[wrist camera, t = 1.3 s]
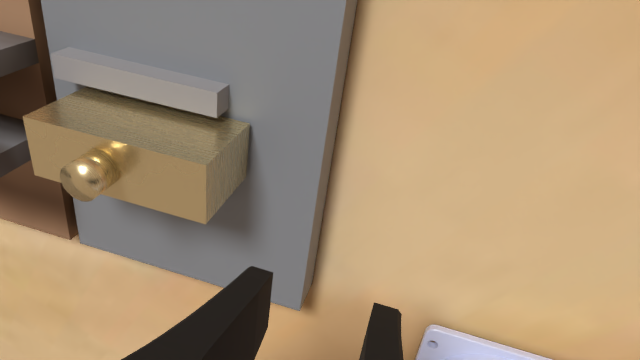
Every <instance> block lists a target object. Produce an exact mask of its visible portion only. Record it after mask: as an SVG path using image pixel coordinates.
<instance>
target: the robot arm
mask: <svg viewBox="0 0 640 360" xmlns="http://www.w3.org/2000/svg"><path fill="white" fill-rule="evenodd" d="M272 281H273V272H270V271H267V270H264V269H260V268H257V267H254V266H250V267H248V268H247V269H246V270H245V271H243V272H242V273H241V274H240V275H239V276H238V277H237V278H236V279H234V280H233V281H232V282H231V283H230V284H229V285H227V286H226V287H225V288H224V289H223V290H221V291H220V292H219V293H218V294H216V295H215V296H214V297H213V298H212V299H210V300H209V301H208V302H206V303H205V304H204V305H202V306H201V307H200V308H199V309H197V310H196V311H195V312H193V313H192V314H191V315H189V316H188V317H187V318H185V319H184V320H182V321H181V322H180V323H178V324H177V325H175V326H174V327H172V328H171V329H169V330H168V331H167V332H165V333H164V334H162V335H161V336H159V337H158V338H156V339H155V340H153V341H151V342H150V343H148V344H147V345H145V346H144V347H142V348H140V349H139V350H137V351H135V352H133V353H132V354H130V355H128V356H127V357H125V358H123V359H121V360H254V359H255V356H256V354H257V352H258V349H259V347H260V345H261V342H262V340H263V337H264V335H265V333H266V330H267V328H268V320H269V310H270V300H271V291H272ZM430 341H435V343H434V342H430ZM359 360H403V351H402V341H401V313H400V312H399V310H398V309H394V308H391V307H388V306H384V305H381V304H378V303H374V305H373V309H372V312H371V316H370V320H369V324H368V327H367V331H366V335H365V339H364V343H363V347H362V351H361V355H360V359H359ZM415 360H552V359H549V358H546V357H542V356H539V355H536V354H532V353H529V352H526V351H522V350H519V349H516V348H512V347H509V346H506V345H502V344H499V343H496V342H492V341H489V340H486V339H482V338H479V337H476V336H472V335H469V334H466V333H462V332H459V331H456V330H452V329H449V328H446V327H442V326H439V325H430V326H428V327H427V328H426V329H425V332H424V335H423V338H422V341H421V344H420V346H419V349H418V352H417V355H416V358H415Z"/></svg>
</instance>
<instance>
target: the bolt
mask: <svg viewBox="0 0 640 360" xmlns="http://www.w3.org/2000/svg"><path fill="white" fill-rule="evenodd" d="M23 121H24V126H25V131H26V136H27V141H28V145H29V150H30V155H31V160H32V165H33V170H34V175H36V176H39V177H43V178H46V179H50V180H53V181H57V182H60V183H62V185H63V187H64V189H65V190H66V191H67V192H68V193H69V194H70V195H71V196H72V197H74V198H75V199H77V200H80V201H83V202H89V201H92V200H93V199H95V198H96V197H97V196H99V195H100V194H102V195H105V196H109V197H112V198H116V199H119V200H123V201H126V202H130V203H133V204H137V205H140V206H144V207H147V208H151V209H154V210H157V211H161V212H164V213H168V214H171V215H175V216H178V217H182V218H185V219H189V220H192V221H196V222H199V223H203V224H207V222H208V221H209V220H210V219H211V218H212V216H213V215H214V214H215V213H216V212H217V211H218V209H219V208H220V207H221V206H222V205H223V204H224V202H225V201H226V200H227V199H228V198H229V196H230V195H231V194H232V193H233V192H234V191H235V189H236V188H237V187H238V186H239V185H240V184H241V182H242V181H243V180H244V179H245V178H246V176H247V162H248V145H249V128H250V123H246V122H242V121H238V120H234V119H230V118H226V117H222V116H219V117H218V118H214V117H210V116H206V115H202V114H198V113H194V112H190V111H186V110H182V109H178V108H174V107H170V106H166V105H162V104H158V103H153V102H149V101H145V100H141V99H137V98H133V97H129V96H125V95H121V94H117V93H113V92H109V91H105V90H101V89H97V88H93V87H89V86H87V87H84V88H82V89H80V90H78V91H76V92H74V93H72V94H70V95H67V96H65V97H63V98H61V99H59V100H57V101H55V102H52V103H50V104H48V105H46V106H44V107H42V108H40V109H38V110H35V111H33V112H31V113H29V114H27V115H25V116H23Z"/></svg>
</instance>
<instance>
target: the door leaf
mask: <svg viewBox="0 0 640 360" xmlns="http://www.w3.org/2000/svg"><path fill="white" fill-rule="evenodd" d="M41 5H42V11H43V17H44V23H45V29H46V36H47V42H48V48H49V54H50V60H51V66H52V73H53V79H54V85H55V91H56V97H57V100H59V99H61V98H63V97H65V96H67V95H70V94H72V93H74V92H76V91H78V90H80V89H82V88H84V87H87V86H89V87H93V88H97V89H101V90H105V91H109V92H113V93H117V94H121V95H125V96H129V97H133V98H137V99H141V100H145V101H149V102H153V103H158V104H162V105H166V106H170V107H174V108H178V109H182V110H186V111H190V112H194V113H198V114H202V115H206V116H210V117H214V118H218V117H219V116H222V117H226V118H230V119H234V120H238V121H242V122H246V123H250V128H249V145H248V162H247V176H246V178H245V179H244V180H243V181H242V182H241V184H240V185H239V186H238V187H237V188H236V189H235V191H234V192H233V193H232V194H231V195H230V196H229V198H228V199H227V200H226V201H225V202H224V204H223V205H222V206H221V207H220V208H219V209H218V211H217V212H216V213H215V214H214V215H213V216H212V218H211V219H210V220H209V221H208V222H207V224H203V223H199V222H196V221H192V220H189V219H185V218H182V217H178V216H175V215H171V214H168V213H164V212H161V211H157V210H154V209H151V208H147V207H144V206H140V205H137V204H133V203H130V202H126V201H123V200H119V199H116V198H112V197H109V196H105V195H102V194H100V195H99V196H97V197H96V198H95V199H93V200H92V201H89V202H83V201H80V200H77V199H75V198H74V197H73V202H74V208H75V214H76V220H77V226H78V232H79V239H80V243H82V244H85V245H88V246H91V247H95V248H98V249H101V250H104V251H108V252H111V253H114V254H117V255H120V256H124V257H127V258H130V259H133V260H137V261H140V262H143V263H146V264H149V265H153V266H156V267H159V268H162V269H166V270H169V271H172V272H175V273H178V274H182V275H185V276H188V277H191V278H195V279H198V280H201V281H204V282H208V283H211V284H214V285H217V286H220V287H224V288H225V287H226V286H227V285H229V284H230V283H231V282H232V281H233V280H234V279H236V278H237V277H238V276H239V275H240V274H241V273H242V272H243V271H245V270H246V269H247V268H248V267H250V266H254V267H257V268H260V269H264V270H267V271H270V272H273V281H272V291H271V300H270V302H272V303H275V304H279V305H282V306H285V307H288V308H291V309H295V310H298V311H300V309H301V307H302V305H303V303H304V300H305V298H306V296H307V294H308V291H309V289H310V287H311V284H312V279H313V273H314V267H315V261H316V255H317V248H318V242H319V236H320V230H321V224H322V217H323V211H324V205H325V199H326V193H327V186H328V180H329V174H330V168H331V162H332V155H333V149H334V143H335V137H336V130H337V124H338V118H339V112H340V106H341V99H342V93H343V87H344V81H345V75H346V68H347V62H348V56H349V50H350V44H351V37H352V31H353V25H354V19H355V13H356V6H357V0H41Z"/></svg>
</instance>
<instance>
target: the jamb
mask: <svg viewBox="0 0 640 360" xmlns="http://www.w3.org/2000/svg"><path fill="white" fill-rule="evenodd" d="M55 101H57V97H56V91H55V85H54V79H53V73H52V66H51V60H50V54H49V48H48V42H47V36H46V29H45V23H44V17H43V11H42V5H41V0H0V218H1V219H4V220H7V221H11V222H14V223H17V224H20V225H24V226H27V227H30V228H33V229H37V230H40V231H43V232H46V233H49V234H53V235H56V236H59V237H62V238H66V239H69V240H71V239H72V238H73V237H74V236H76V235H77V234H78V233H79V232H78V226H77V220H76V214H75V208H74V202H73V197H72V196H71V195H70V194H69V193H68V192H67V191H66V190H65V189H64V187H63V185H62V183H60V182H57V181H53V180H50V179H46V178H43V177H39V176H36V175H34V170H33V165H32V160H31V155H30V150H29V145H28V141H27V136H26V131H25V126H24V121H23V116H25V115H27V114H29V113H31V112H33V111H35V110H38V109H40V108H42V107H44V106H46V105H48V104H50V103H52V102H55Z"/></svg>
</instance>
